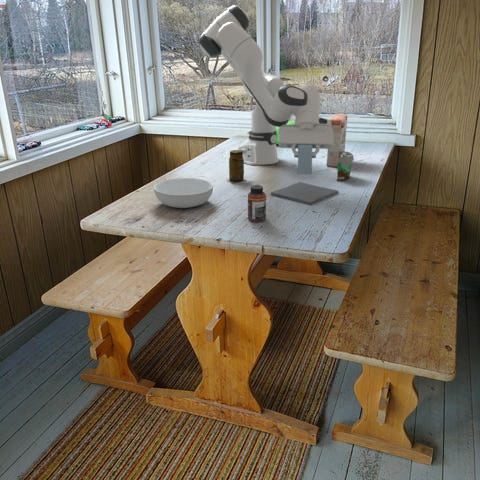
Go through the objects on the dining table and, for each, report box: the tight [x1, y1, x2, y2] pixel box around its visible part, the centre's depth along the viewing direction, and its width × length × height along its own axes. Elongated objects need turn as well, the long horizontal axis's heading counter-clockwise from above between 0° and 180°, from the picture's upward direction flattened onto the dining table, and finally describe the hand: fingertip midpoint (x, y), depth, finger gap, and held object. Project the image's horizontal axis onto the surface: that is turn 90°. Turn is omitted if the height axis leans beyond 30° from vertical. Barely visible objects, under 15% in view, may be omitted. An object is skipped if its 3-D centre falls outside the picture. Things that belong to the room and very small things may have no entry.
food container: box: [336, 151, 355, 182], centre depth 207 cm, size 12×6×10 cm, turn 168°
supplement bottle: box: [247, 184, 267, 223], centre depth 164 cm, size 6×6×11 cm
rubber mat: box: [270, 181, 339, 206], centre depth 190 cm, size 18×18×1 cm
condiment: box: [225, 149, 249, 184], centre depth 206 cm, size 7×8×12 cm
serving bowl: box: [153, 177, 214, 209], centre depth 181 cm, size 21×21×7 cm
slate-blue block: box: [297, 144, 313, 175], centre depth 185 cm, size 5×5×10 cm
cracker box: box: [326, 114, 348, 168], centre depth 227 cm, size 14×6×21 cm, turn 160°
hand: (305, 157), depth 184 cm, fingers closed on slate-blue block, 5 cm apart
